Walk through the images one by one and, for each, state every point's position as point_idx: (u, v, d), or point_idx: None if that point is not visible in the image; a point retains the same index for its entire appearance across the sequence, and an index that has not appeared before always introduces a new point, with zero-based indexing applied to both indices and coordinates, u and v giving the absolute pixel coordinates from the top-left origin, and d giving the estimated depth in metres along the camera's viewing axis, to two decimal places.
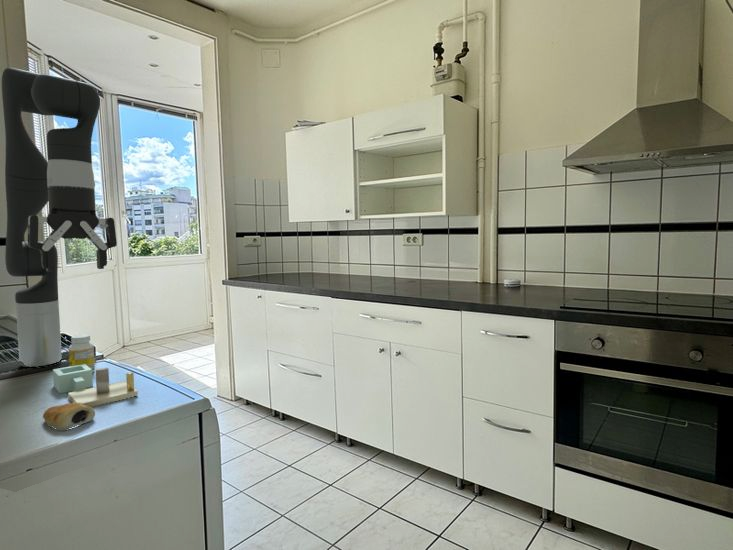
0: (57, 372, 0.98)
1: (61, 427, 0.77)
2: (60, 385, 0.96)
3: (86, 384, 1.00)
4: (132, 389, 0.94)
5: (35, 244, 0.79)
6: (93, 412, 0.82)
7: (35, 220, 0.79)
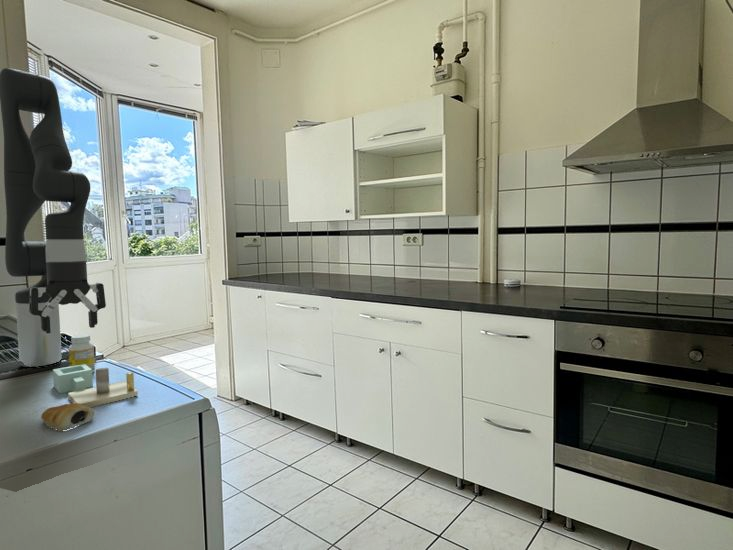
0: (57, 372, 0.98)
1: (60, 428, 0.77)
2: (60, 385, 0.96)
3: (86, 384, 1.00)
4: (132, 389, 0.94)
5: (36, 312, 0.93)
6: (92, 413, 0.82)
7: (35, 292, 0.93)
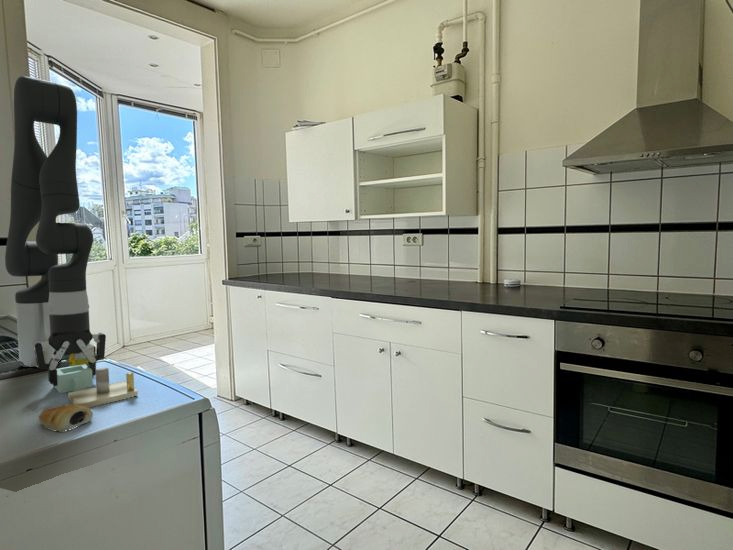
0: (57, 372, 0.98)
1: (59, 428, 0.77)
2: (60, 385, 0.96)
3: (86, 384, 1.00)
4: (132, 389, 0.94)
5: (43, 366, 0.95)
6: (91, 413, 0.82)
7: (39, 347, 0.94)
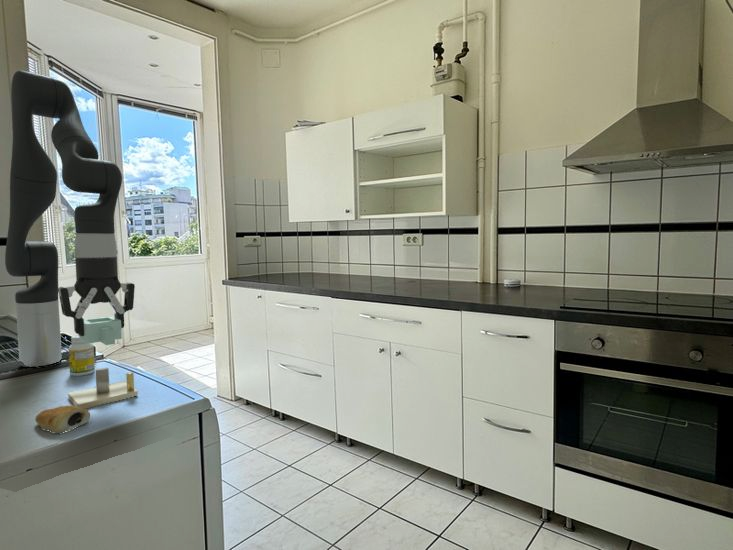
0: (84, 322, 0.90)
1: (57, 430, 0.76)
2: (87, 335, 0.88)
3: (115, 336, 0.92)
4: (132, 389, 0.94)
5: (69, 313, 0.87)
6: (88, 414, 0.81)
7: (65, 292, 0.87)
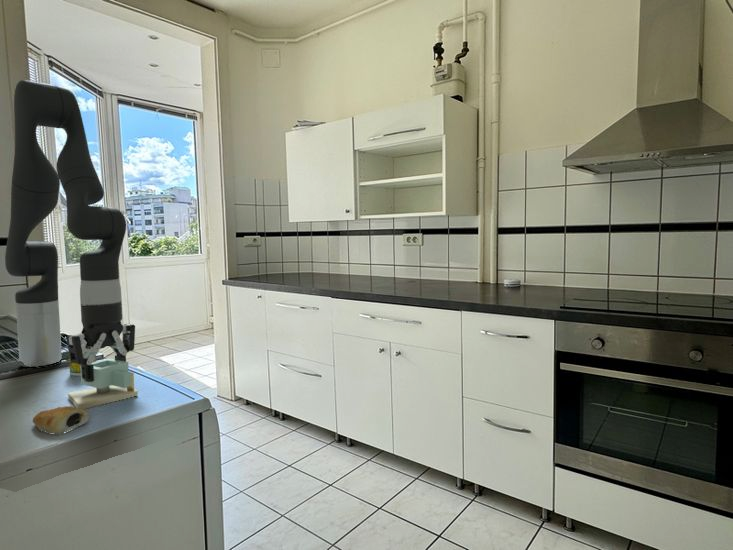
0: None
1: (56, 431, 0.76)
2: (101, 380, 0.90)
3: None
4: (132, 389, 0.94)
5: (82, 360, 0.88)
6: (87, 415, 0.81)
7: (78, 340, 0.87)
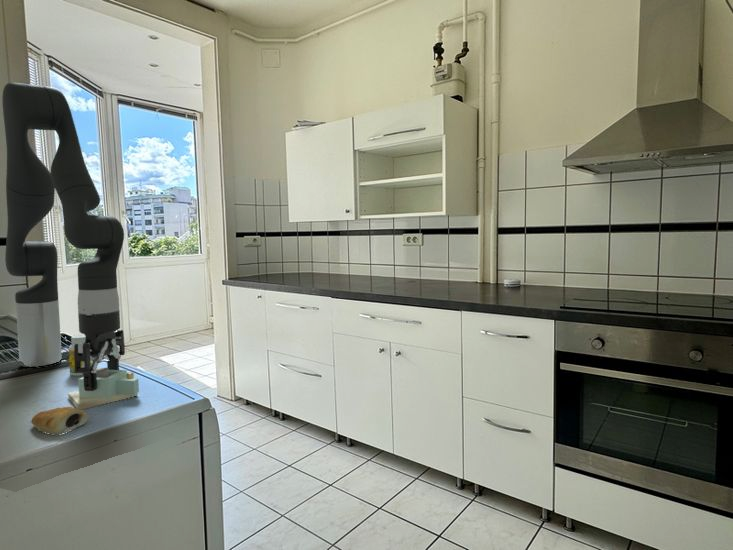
0: None
1: (55, 431, 0.75)
2: (109, 389, 0.90)
3: None
4: None
5: (89, 369, 0.87)
6: (86, 415, 0.81)
7: (89, 347, 0.87)
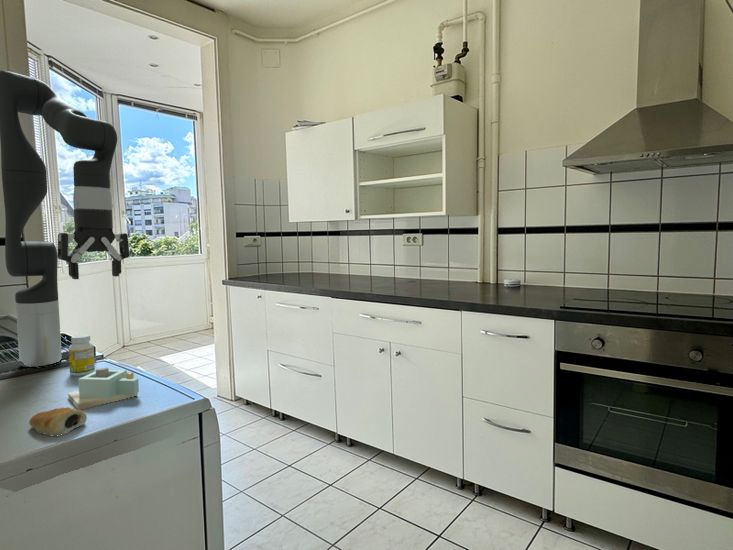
0: (95, 378, 0.90)
1: (54, 432, 0.75)
2: (109, 389, 0.90)
3: None
4: None
5: (65, 257, 0.95)
6: (85, 416, 0.80)
7: (65, 237, 0.95)
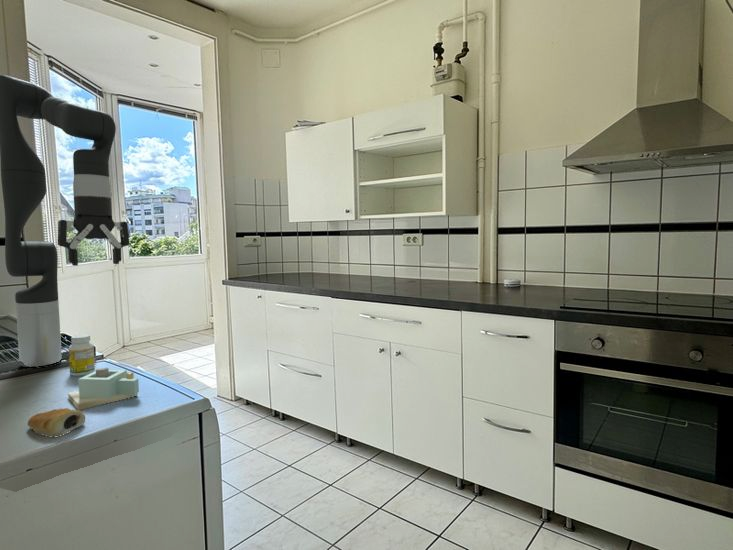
0: (95, 378, 0.90)
1: (53, 433, 0.75)
2: (109, 389, 0.90)
3: None
4: None
5: (64, 243, 0.97)
6: (84, 417, 0.80)
7: (64, 224, 0.97)
